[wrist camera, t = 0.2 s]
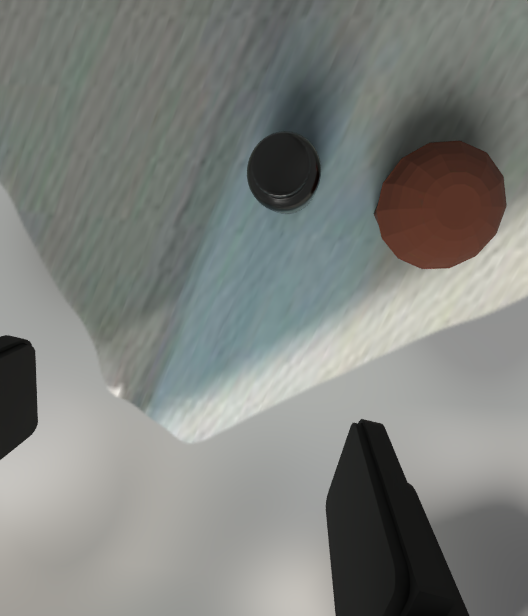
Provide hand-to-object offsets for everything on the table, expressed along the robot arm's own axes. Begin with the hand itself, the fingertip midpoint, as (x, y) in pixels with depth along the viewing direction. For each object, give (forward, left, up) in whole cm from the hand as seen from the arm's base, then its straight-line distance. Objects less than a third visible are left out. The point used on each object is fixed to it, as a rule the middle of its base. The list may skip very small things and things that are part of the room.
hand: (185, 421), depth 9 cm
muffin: (-10, +15, -31) cm, 36 cm away
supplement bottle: (-10, 0, -31) cm, 33 cm away
